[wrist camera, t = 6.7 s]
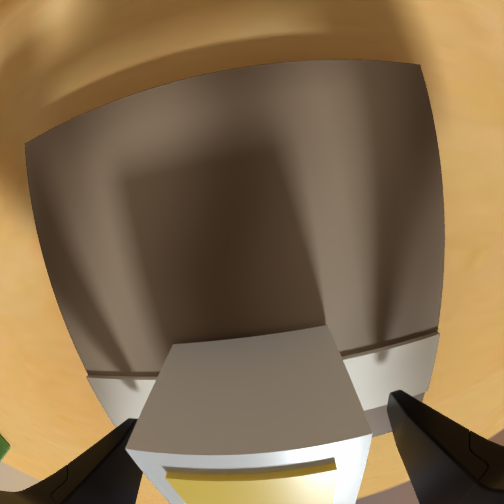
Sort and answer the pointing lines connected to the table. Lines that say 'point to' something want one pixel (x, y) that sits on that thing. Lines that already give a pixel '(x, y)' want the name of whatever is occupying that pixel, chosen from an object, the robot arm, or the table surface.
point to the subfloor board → (249, 223)
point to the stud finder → (254, 423)
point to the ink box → (3, 448)
